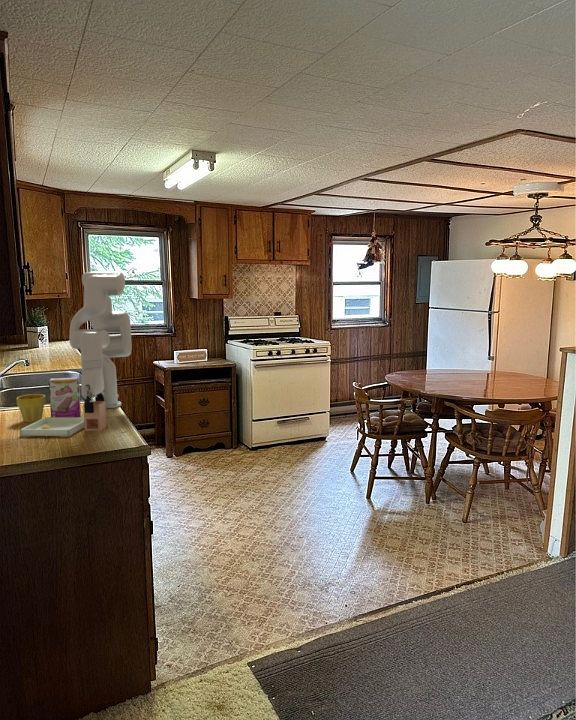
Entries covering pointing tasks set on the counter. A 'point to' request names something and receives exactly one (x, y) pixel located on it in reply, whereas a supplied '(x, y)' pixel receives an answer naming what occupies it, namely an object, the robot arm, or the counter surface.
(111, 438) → the counter surface
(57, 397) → the candy bar box
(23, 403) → the plant pot
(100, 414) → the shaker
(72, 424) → the tray
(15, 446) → the counter surface
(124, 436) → the counter surface
